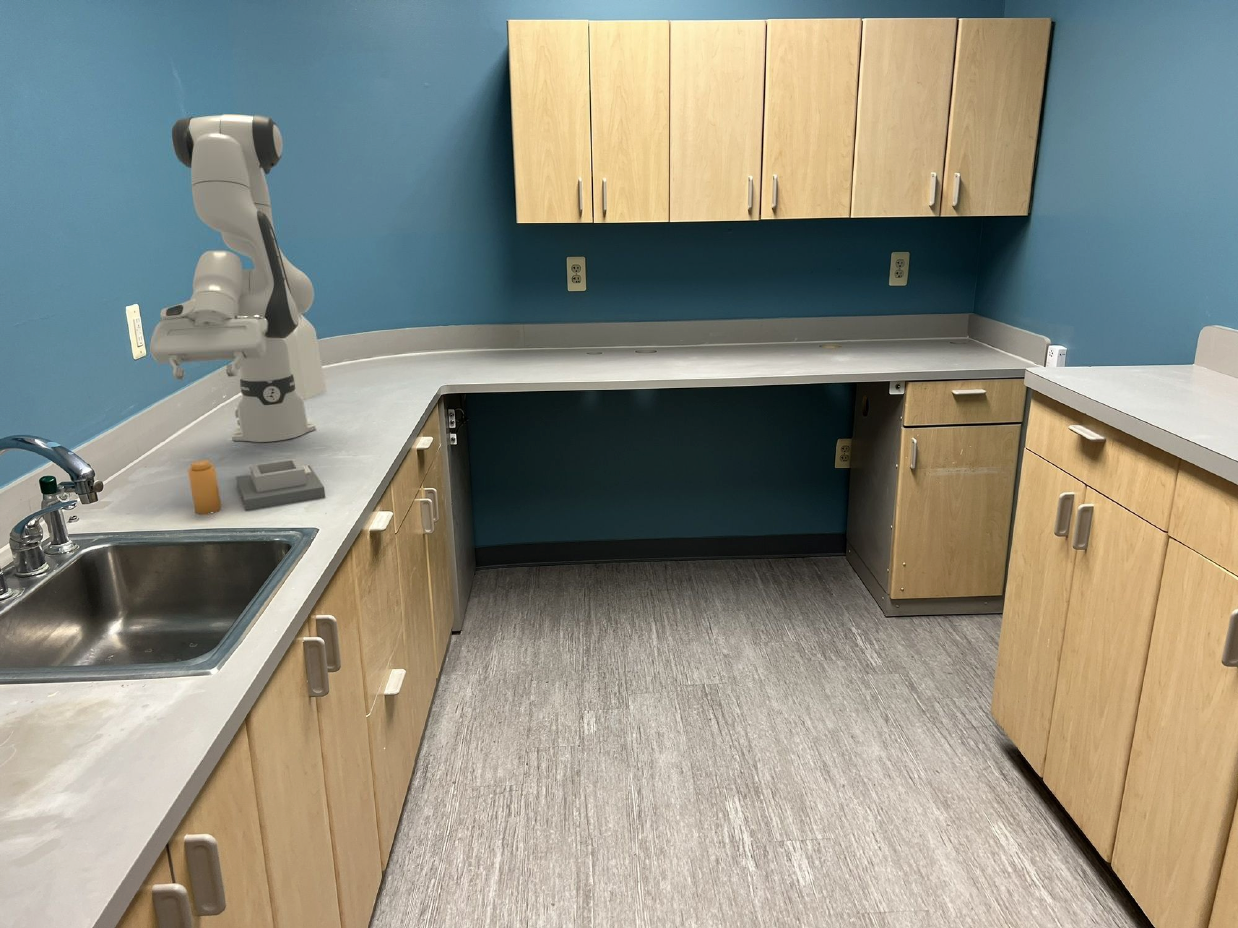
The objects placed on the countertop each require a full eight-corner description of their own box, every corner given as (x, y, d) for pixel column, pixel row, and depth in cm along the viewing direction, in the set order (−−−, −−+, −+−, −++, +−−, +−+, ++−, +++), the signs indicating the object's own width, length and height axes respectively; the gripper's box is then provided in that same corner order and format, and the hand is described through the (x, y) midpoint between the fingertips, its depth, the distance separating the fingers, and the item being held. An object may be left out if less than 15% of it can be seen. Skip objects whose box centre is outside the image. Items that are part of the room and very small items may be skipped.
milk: (326, 391, 256) (315, 302, 248) (305, 399, 245) (293, 307, 237) (289, 390, 258) (277, 302, 250) (267, 398, 247) (254, 307, 240)
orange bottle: (194, 508, 159) (186, 462, 156) (220, 504, 161) (212, 458, 158) (196, 515, 155) (187, 468, 152) (222, 511, 157) (214, 464, 154)
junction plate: (237, 486, 171) (233, 462, 169) (310, 474, 177) (307, 451, 176) (246, 510, 157) (241, 484, 156) (325, 496, 164) (322, 471, 162)
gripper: (273, 325, 171) (267, 382, 164) (164, 331, 169) (154, 389, 162) (264, 304, 166) (258, 362, 159) (151, 310, 163) (140, 369, 157)
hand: (204, 376), depth 160 cm, fingers open, 8 cm apart
